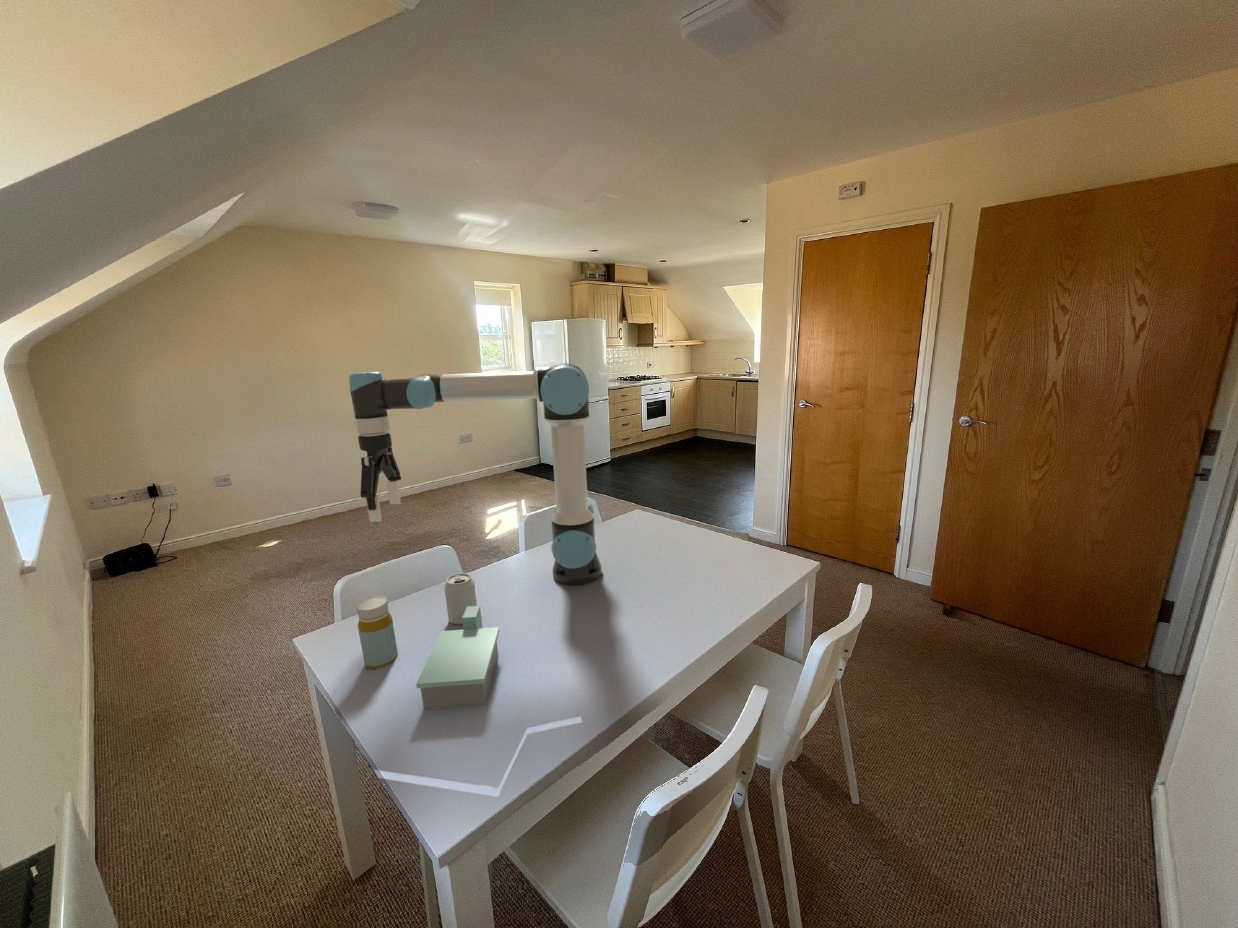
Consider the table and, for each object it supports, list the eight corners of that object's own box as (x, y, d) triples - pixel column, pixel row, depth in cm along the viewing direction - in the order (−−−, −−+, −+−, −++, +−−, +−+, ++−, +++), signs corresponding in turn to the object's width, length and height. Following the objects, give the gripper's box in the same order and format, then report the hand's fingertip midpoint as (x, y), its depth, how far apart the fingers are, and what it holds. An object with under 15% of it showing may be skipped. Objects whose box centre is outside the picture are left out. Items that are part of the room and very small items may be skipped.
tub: (498, 657, 114) (496, 634, 112) (485, 707, 98) (482, 681, 97) (445, 661, 113) (442, 638, 112) (424, 712, 98) (420, 686, 96)
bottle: (376, 674, 109) (366, 614, 106) (358, 664, 113) (348, 606, 109) (404, 657, 115) (395, 599, 111) (386, 648, 119) (377, 592, 115)
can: (451, 629, 126) (445, 587, 123) (446, 616, 132) (441, 575, 129) (480, 621, 129) (476, 579, 126) (475, 608, 135) (470, 568, 133)
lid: (503, 630, 120) (501, 604, 118) (486, 696, 97) (482, 665, 96) (449, 633, 119) (445, 607, 117) (418, 701, 96) (414, 670, 95)
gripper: (378, 425, 137) (389, 498, 143) (335, 443, 113) (350, 530, 119) (405, 424, 138) (415, 496, 143) (368, 442, 114) (382, 528, 119)
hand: (386, 512), depth 131 cm, fingers open, 13 cm apart
